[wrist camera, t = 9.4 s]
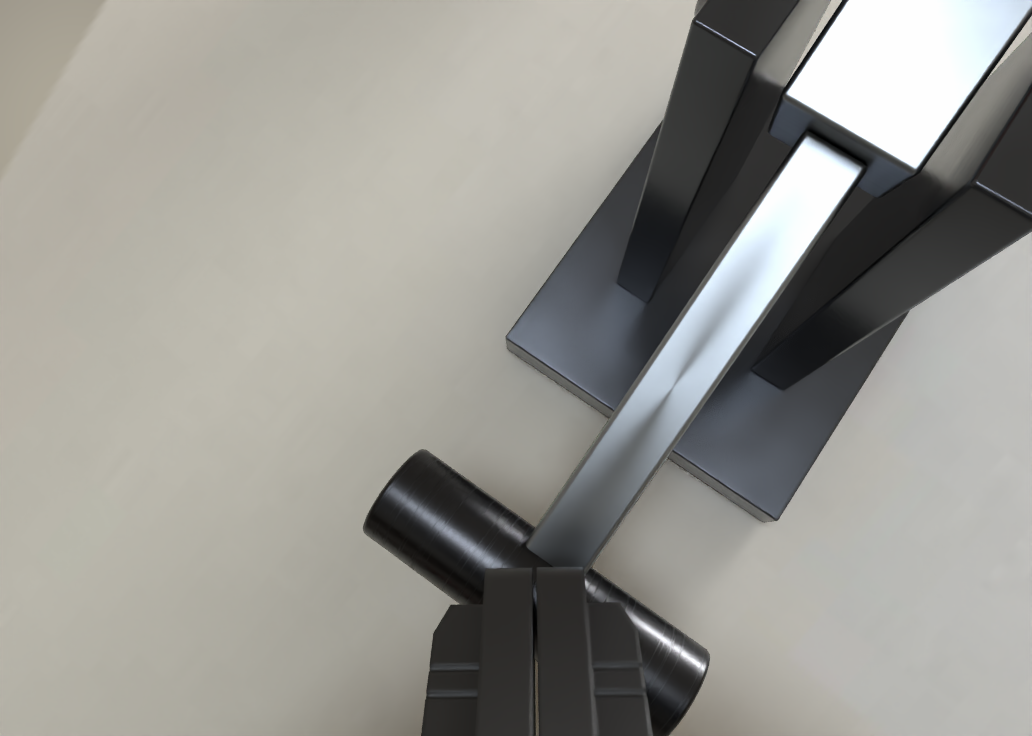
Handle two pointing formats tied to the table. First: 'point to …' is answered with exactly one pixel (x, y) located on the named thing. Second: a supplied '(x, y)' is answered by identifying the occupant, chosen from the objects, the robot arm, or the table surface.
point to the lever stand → (818, 282)
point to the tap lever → (719, 313)
